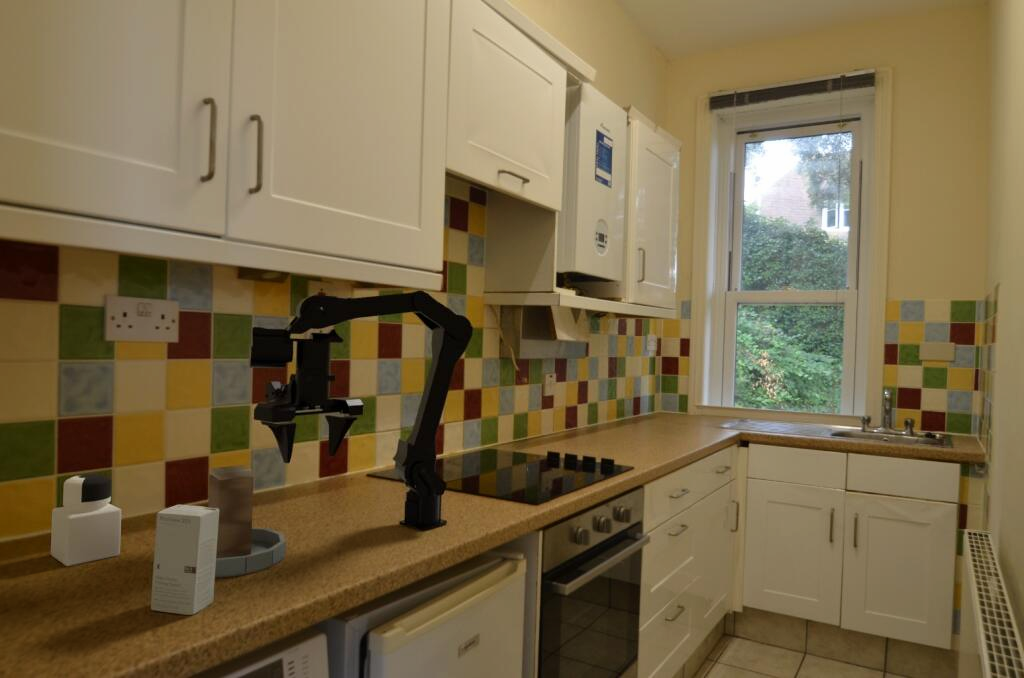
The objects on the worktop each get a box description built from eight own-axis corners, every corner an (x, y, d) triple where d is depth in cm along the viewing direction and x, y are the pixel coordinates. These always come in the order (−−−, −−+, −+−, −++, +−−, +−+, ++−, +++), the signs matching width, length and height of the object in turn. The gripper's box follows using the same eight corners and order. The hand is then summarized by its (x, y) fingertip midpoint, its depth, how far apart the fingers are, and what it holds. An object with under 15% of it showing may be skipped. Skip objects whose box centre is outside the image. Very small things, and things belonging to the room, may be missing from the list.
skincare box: (148, 611, 79) (152, 512, 79) (173, 597, 84) (176, 503, 84) (194, 616, 78) (198, 516, 78) (217, 601, 83) (220, 506, 83)
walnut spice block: (240, 547, 102) (243, 464, 102) (250, 556, 98) (253, 470, 98) (206, 553, 99) (209, 468, 99) (215, 562, 95) (218, 473, 95)
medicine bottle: (103, 545, 103) (105, 469, 103) (120, 555, 98) (123, 476, 98) (49, 555, 97) (52, 475, 97) (65, 567, 93) (68, 483, 93)
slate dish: (246, 536, 110) (247, 521, 110) (305, 557, 100) (306, 540, 100) (148, 560, 97) (149, 543, 97) (205, 586, 87) (206, 568, 87)
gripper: (327, 365, 124) (324, 447, 124) (236, 367, 108) (233, 460, 108) (366, 368, 117) (364, 455, 117) (276, 370, 102) (272, 469, 102)
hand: (310, 459), depth 111 cm, fingers open, 9 cm apart
